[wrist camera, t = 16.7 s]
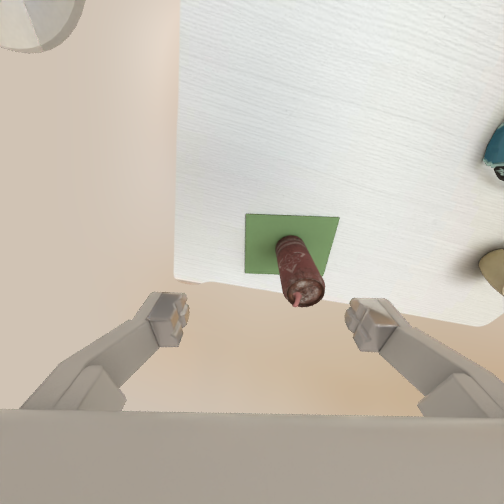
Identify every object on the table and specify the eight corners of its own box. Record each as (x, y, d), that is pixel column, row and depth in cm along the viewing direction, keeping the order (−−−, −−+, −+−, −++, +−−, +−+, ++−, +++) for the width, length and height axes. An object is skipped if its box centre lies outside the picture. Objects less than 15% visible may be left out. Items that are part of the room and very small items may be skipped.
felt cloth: (245, 272, 41) (245, 273, 41) (245, 213, 34) (245, 214, 34) (322, 275, 41) (323, 276, 41) (339, 217, 34) (339, 217, 34)
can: (271, 257, 39) (277, 306, 27) (280, 231, 36) (292, 273, 23) (297, 263, 39) (315, 313, 27) (308, 237, 36) (335, 282, 24)
